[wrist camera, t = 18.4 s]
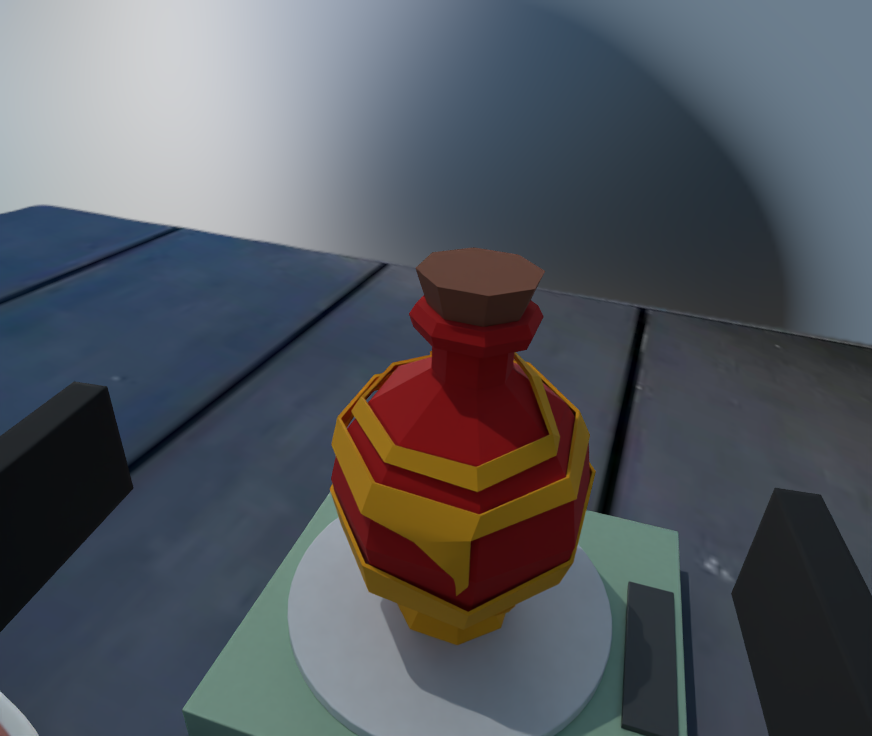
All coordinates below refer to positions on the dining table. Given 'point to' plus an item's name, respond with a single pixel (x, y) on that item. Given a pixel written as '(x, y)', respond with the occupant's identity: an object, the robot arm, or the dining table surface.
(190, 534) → the dining table surface
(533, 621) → the kitchen scale
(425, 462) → the potion bottle
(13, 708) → the dinner plate
